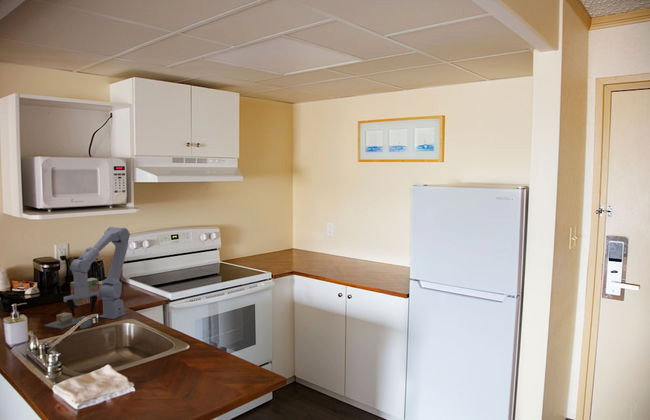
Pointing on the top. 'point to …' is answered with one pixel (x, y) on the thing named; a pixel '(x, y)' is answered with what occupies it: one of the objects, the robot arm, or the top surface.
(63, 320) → the maple block
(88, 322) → the blue block
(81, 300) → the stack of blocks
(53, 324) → the baseplate
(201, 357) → the top surface
